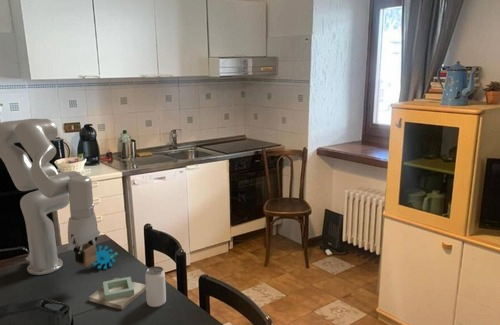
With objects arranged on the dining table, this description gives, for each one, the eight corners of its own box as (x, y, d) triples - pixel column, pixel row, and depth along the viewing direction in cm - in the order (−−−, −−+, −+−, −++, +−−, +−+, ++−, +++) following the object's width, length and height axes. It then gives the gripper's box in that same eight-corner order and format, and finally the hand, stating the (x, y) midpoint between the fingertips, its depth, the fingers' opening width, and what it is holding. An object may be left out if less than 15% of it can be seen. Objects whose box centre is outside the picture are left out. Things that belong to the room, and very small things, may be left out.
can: (145, 299, 143) (143, 267, 140) (164, 295, 145) (162, 264, 142) (148, 309, 137) (146, 276, 134) (168, 305, 139) (166, 272, 136)
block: (75, 264, 147) (74, 248, 145) (85, 257, 151) (84, 242, 150) (86, 267, 145) (85, 251, 144) (96, 260, 150) (95, 245, 148)
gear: (93, 270, 159) (88, 246, 163) (89, 276, 163) (84, 253, 167) (121, 265, 166) (115, 242, 170) (116, 271, 170) (110, 249, 174)
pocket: (105, 300, 139) (105, 295, 138) (103, 286, 147) (102, 281, 147) (134, 294, 143) (134, 289, 142) (130, 281, 151) (130, 276, 151)
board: (88, 300, 142) (88, 296, 141) (116, 281, 154) (115, 277, 154) (122, 309, 137) (121, 305, 136) (147, 288, 149) (147, 285, 149)
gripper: (91, 202, 152) (94, 247, 157) (54, 218, 137) (59, 267, 141) (107, 205, 150) (110, 251, 154) (71, 222, 134) (76, 272, 139)
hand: (85, 258), depth 148 cm, fingers closed on block, 4 cm apart
